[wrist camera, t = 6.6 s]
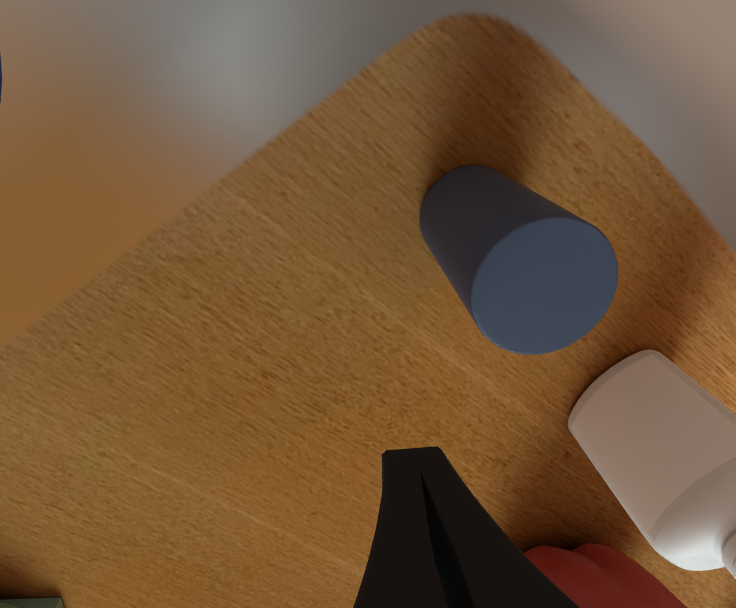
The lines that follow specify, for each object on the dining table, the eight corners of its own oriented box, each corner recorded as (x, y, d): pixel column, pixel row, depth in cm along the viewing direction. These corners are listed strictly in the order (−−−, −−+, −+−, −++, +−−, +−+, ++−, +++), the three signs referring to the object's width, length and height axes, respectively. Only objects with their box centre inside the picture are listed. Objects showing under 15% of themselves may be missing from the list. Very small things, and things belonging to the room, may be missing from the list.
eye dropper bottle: (551, 381, 24) (746, 640, 13) (667, 336, 23) (968, 567, 12) (571, 446, 26) (755, 721, 15) (678, 406, 25) (950, 660, 14)
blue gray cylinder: (398, 225, 20) (439, 305, 13) (467, 142, 19) (549, 183, 12) (470, 281, 21) (541, 379, 14) (538, 206, 20) (648, 275, 13)
